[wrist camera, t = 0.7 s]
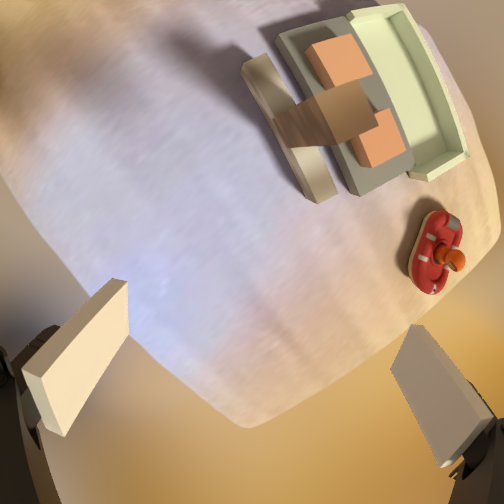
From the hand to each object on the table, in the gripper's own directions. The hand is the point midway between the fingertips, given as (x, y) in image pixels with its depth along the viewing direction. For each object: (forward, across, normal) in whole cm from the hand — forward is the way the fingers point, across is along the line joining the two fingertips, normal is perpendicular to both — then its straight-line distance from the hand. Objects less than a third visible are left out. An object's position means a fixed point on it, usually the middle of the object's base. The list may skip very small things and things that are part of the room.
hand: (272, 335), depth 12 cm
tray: (+24, +15, +21) cm, 35 cm away
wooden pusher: (+22, 0, +11) cm, 25 cm away
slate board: (+23, +7, +16) cm, 29 cm away
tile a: (+20, +4, +19) cm, 28 cm away
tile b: (+21, +10, +12) cm, 26 cm away
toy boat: (+26, +24, 0) cm, 36 cm away
